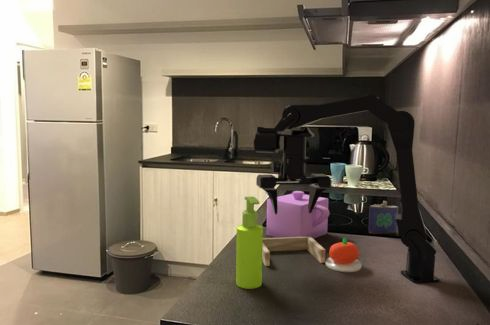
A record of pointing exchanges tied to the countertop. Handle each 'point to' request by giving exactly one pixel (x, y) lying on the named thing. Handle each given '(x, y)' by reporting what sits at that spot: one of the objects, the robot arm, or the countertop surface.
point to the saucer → (343, 266)
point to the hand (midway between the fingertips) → (292, 213)
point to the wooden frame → (292, 247)
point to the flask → (382, 219)
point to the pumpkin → (344, 252)
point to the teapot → (297, 216)
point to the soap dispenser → (249, 248)
